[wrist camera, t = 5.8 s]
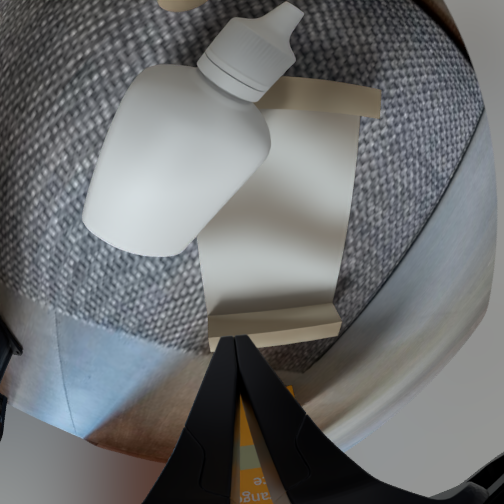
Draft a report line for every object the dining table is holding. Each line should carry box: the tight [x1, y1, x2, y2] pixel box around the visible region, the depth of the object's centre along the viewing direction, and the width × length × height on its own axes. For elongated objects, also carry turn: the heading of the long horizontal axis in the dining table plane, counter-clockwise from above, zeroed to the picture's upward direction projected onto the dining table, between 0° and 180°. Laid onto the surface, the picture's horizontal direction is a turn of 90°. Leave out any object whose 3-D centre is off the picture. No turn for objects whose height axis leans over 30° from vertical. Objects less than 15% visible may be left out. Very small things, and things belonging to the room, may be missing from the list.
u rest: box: [197, 76, 381, 352], centre depth 15 cm, size 16×9×2 cm, turn 0°
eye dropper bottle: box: [82, 1, 304, 257], centre depth 9 cm, size 4×6×12 cm
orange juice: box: [240, 385, 295, 504], centre depth 19 cm, size 8×9×20 cm
